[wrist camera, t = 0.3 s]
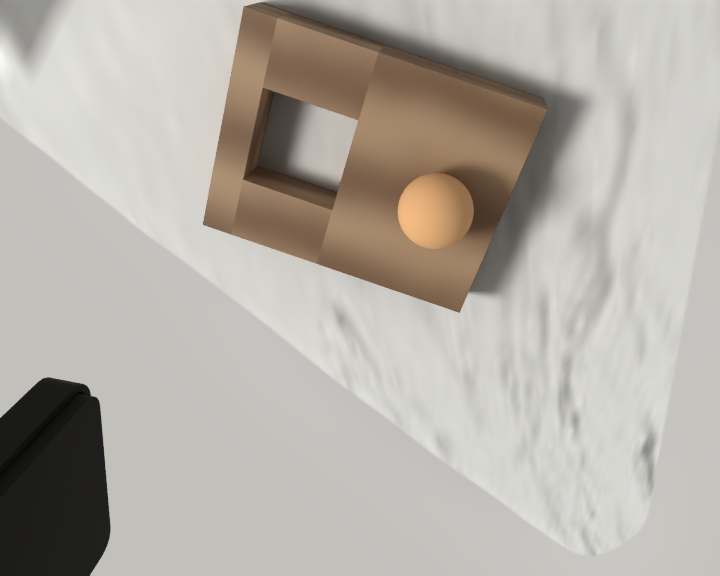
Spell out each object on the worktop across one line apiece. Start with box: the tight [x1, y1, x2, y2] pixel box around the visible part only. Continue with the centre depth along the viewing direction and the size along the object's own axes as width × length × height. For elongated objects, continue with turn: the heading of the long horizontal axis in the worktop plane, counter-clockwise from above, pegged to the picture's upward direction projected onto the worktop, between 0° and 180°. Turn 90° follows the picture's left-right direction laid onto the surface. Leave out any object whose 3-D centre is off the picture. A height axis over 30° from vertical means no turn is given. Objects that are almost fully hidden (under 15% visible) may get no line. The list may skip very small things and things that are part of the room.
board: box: [203, 2, 548, 313], centre depth 42 cm, size 14×18×3 cm
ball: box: [398, 173, 474, 249], centre depth 39 cm, size 4×4×4 cm
